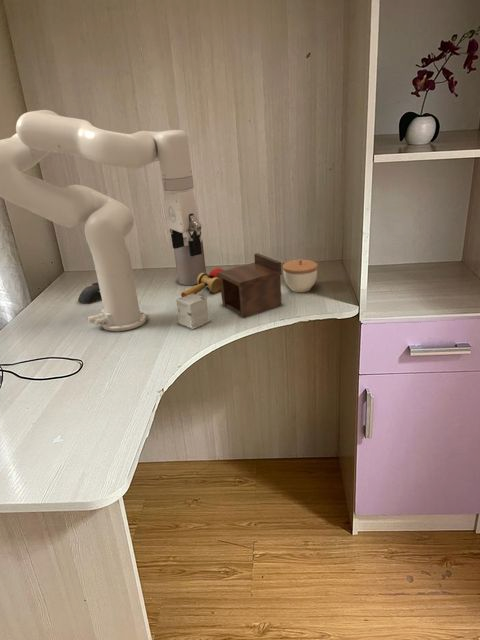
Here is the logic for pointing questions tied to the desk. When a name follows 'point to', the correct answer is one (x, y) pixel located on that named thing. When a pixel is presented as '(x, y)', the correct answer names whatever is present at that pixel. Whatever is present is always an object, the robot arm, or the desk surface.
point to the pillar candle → (189, 264)
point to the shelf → (252, 286)
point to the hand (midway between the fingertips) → (187, 251)
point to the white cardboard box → (192, 311)
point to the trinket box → (300, 274)
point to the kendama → (205, 283)
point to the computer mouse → (90, 294)
